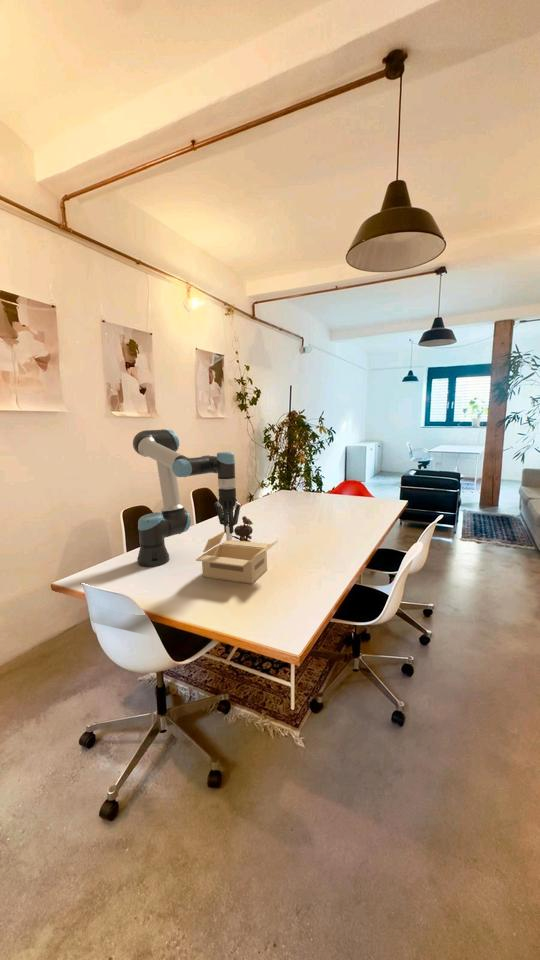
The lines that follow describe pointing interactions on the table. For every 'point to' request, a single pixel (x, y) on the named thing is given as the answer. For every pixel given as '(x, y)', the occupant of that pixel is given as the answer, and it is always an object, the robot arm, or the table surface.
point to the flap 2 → (265, 549)
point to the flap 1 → (214, 541)
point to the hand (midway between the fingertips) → (229, 540)
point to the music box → (244, 530)
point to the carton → (235, 561)
